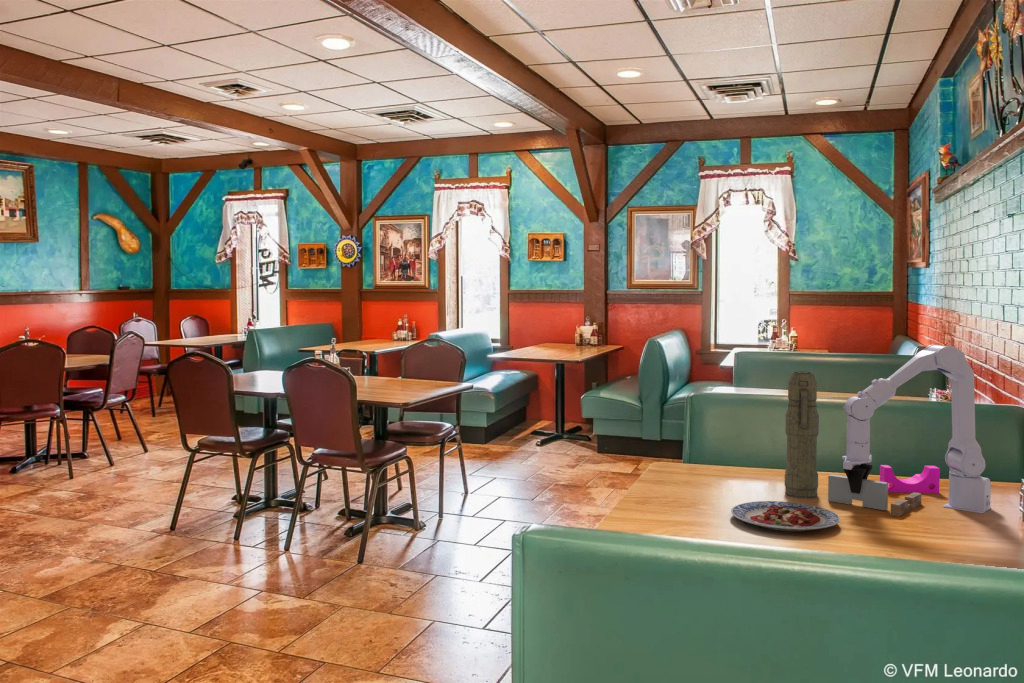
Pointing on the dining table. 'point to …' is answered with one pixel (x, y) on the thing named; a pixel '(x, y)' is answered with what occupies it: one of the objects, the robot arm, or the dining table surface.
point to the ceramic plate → (785, 515)
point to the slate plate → (870, 493)
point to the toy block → (912, 480)
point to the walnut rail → (906, 504)
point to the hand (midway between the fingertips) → (857, 492)
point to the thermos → (802, 436)
